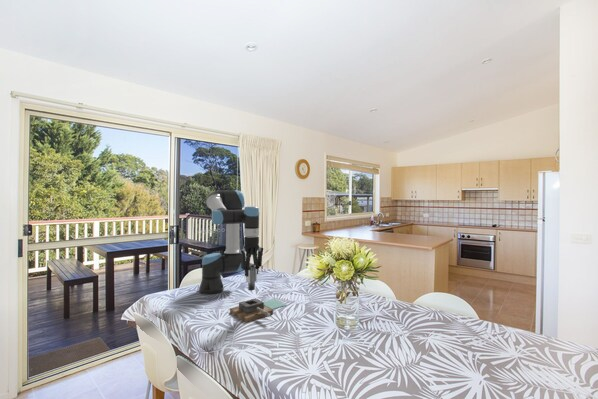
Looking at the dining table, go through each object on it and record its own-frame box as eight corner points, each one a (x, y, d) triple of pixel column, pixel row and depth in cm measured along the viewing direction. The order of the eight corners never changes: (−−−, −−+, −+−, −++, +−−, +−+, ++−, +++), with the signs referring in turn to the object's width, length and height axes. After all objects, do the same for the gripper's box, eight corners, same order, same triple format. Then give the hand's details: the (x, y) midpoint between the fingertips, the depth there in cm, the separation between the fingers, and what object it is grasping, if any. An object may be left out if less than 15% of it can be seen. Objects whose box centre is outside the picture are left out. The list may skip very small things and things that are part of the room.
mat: (259, 303, 168) (259, 302, 168) (274, 299, 174) (274, 298, 174) (272, 309, 159) (272, 308, 159) (286, 305, 165) (286, 304, 165)
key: (245, 288, 155) (245, 263, 155) (251, 287, 157) (251, 262, 157) (251, 291, 150) (251, 265, 150) (257, 290, 152) (257, 264, 152)
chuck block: (230, 312, 155) (230, 301, 155) (256, 305, 165) (256, 295, 165) (254, 327, 136) (254, 316, 136) (282, 318, 147) (282, 307, 147)
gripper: (241, 238, 145) (241, 286, 145) (268, 235, 156) (268, 280, 156) (233, 236, 151) (233, 282, 151) (261, 234, 162) (260, 277, 162)
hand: (251, 281), depth 154 cm, fingers closed on key, 3 cm apart
